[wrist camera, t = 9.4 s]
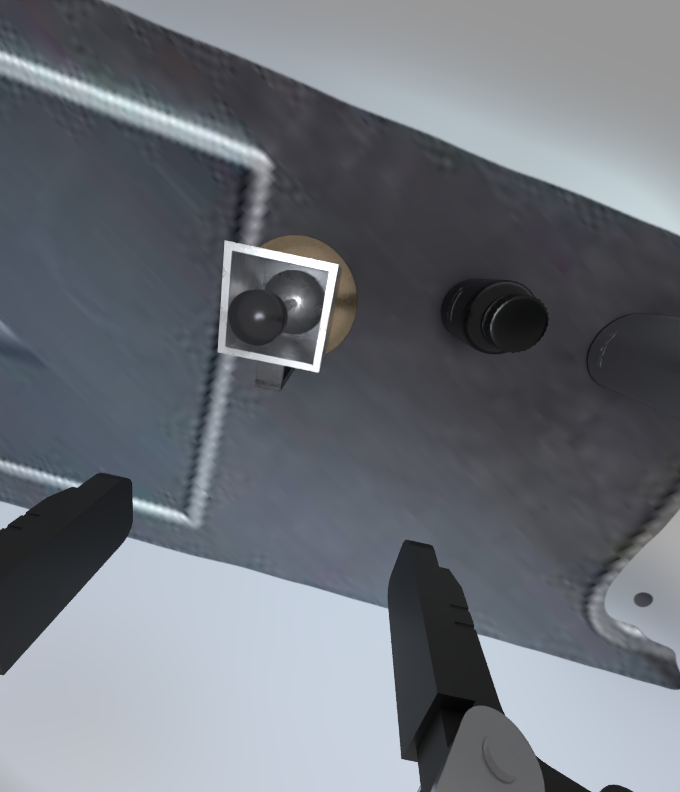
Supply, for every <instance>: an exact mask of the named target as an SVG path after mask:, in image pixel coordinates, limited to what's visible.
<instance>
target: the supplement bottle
mask: <svg viewBox="0 0 680 792" xmlns="http://www.w3.org/2000/svg"><path fill="white" fill-rule="evenodd" d="M442 320H443V323H444V325H445V327H446V329H447V330H448V331H449V332H450V333H451V334H452V335H454V336H455V337H457V338H458V339H460V340H461V341H463V342H465V343H466V344H468V345H469V346H471V347H473V348H474V349H476V350H478V351H480V352H483V353H486V354H502V353H506V352H512V353H515V352H521V351H525V350H527V349H529V348H531V347H532V346H534V345H535V344H536V343H537V342H538V341H540V339H541V337H543V335H544V332H545V331H546V327H547V326H548V320H549V318H548V312H547V308H546V307H545V306H544V304H543V303H541V301H540V300H539V299H537V298H536V297H534V295H533V293H532V292H531V291H530V290H529V289H528V288H527V287H526V286H524V285H522V284H521V283H518V282H515V281H509V280H491V279H471V280H467V281H464V282H462V283H460V284H458V285H457V286H455V287H454V288H453V289H452V290H451V291H450V292H449V293H448V295H447V296H446V298H445V300H444V303H443V306H442Z"/></svg>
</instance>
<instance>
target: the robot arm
mask: <svg viewBox="0 0 680 792" xmlns="http://www.w3.org/2000/svg"><path fill="white" fill-rule="evenodd" d="M588 369H589V372H590V375H591V376H592V378H593V379H594V380H595V381H596V382H597V383H599V384H600V385H602V386H604V387H606V388H609V389H611V390H613V391H616V392H618V393H620V394H623V395H625V396H627V397H629V398H632V399H634V400H636V401H639V402H641V403H643V404H646V405H648V406H650V407H653V408H655V409H657V410H660V411H662V412H664V413H667V414H669V415H671V416H674V417H676V418H678V419H680V318H678V317H670V316H661V315H653V314H632V315H627V316H624V317H622V318H619V319H617V320H616V321H614V322H612V323H611V324H609V325H608V326H607V327H606V328H604V329H603V330H602V331H601V332H600V334H599V335H598V336H597V337H596V339H595V340H594V342H593V344H592V345H591V348H590V351H589V354H588ZM132 522H133V502H132V482H131V480H130V479H128V478H124V477H120V476H115V475H111V474H106V473H98V474H96V475H94V476H93V477H91V478H90V479H89V480H87V481H86V482H85V483H83V484H82V485H81V486H79V487H78V488H76V487H71V488H68V489H66V490H64V491H61V492H59V493H57V494H54V495H52V496H50V497H47V498H46V499H44V500H43V501H41V502H40V503H39V504H37V505H36V506H34V507H33V508H31V509H30V510H29V511H27V512H26V514H25V515H24V516H23V515H22V516H20V517H19V518H17V519H16V520H14V521H13V522H11V523H10V524H8V527H7V528H6V529H4V528H3V529H1V530H0V675H4V674H5V673H6V672H7V671H8V670H9V669H10V668H11V667H12V666H13V664H14V663H15V662H16V661H17V660H18V659H19V658H20V656H21V655H22V654H23V653H24V652H25V651H26V650H27V649H28V648H29V647H30V646H31V644H32V643H33V642H34V641H35V640H36V639H37V638H38V637H39V636H40V634H41V633H42V632H43V631H44V630H45V629H46V628H47V627H48V626H49V624H50V623H51V622H52V621H53V620H54V619H55V618H56V617H57V615H58V614H59V613H60V612H61V611H62V610H63V609H64V608H65V607H66V606H67V604H68V603H69V602H70V601H71V600H72V599H73V598H74V597H75V596H76V594H77V593H78V592H79V591H80V590H81V589H82V588H83V586H84V585H85V584H86V583H87V582H88V581H89V580H90V579H91V578H92V577H93V576H94V574H95V573H96V572H97V571H98V570H99V569H100V568H101V567H102V566H103V564H104V563H105V562H106V561H107V560H108V559H109V558H110V557H111V555H112V554H113V553H114V552H115V551H116V550H117V549H118V548H119V547H120V545H121V544H122V543H123V542H124V541H125V539H126V538H127V536H128V534H129V532H130V529H131V527H132ZM388 609H389V620H390V632H391V643H392V654H393V666H394V678H395V690H396V701H397V712H398V724H399V735H400V746H401V758H402V759H405V760H410V761H415V762H418V766H419V775H420V783H421V786H420V787H419V789H418V791H417V792H591V791H589V790H587V789H586V788H584V787H582V786H581V785H579V784H578V783H576V782H574V781H573V780H571V779H570V778H568V777H566V776H565V775H563V774H561V773H560V772H558V771H557V770H555V769H553V768H551V767H550V766H549V765H547V764H546V763H544V762H543V761H541V760H540V759H539V758H538V757H537V756H536V755H535V753H534V752H533V750H532V748H531V746H530V744H529V743H528V741H527V740H526V738H525V737H524V735H523V734H522V733H521V731H520V730H519V729H518V728H517V727H516V725H514V723H512V721H510V720H509V719H508V718H507V717H506V716H505V714H504V712H503V710H502V707H501V705H500V702H499V699H498V696H497V693H496V690H495V687H494V684H493V681H492V678H491V675H490V672H489V669H488V666H487V663H486V660H485V657H484V654H483V651H482V648H481V645H480V642H479V639H478V636H477V632H476V630H474V623H473V620H472V617H471V614H470V612H468V605H467V602H466V599H465V596H464V593H463V590H462V587H461V586H460V584H459V583H458V582H457V580H456V579H455V577H454V576H453V574H452V573H451V571H450V570H449V569H446V568H441V567H439V565H438V561H437V558H436V554H435V551H434V548H433V546H432V545H429V544H424V543H419V542H415V541H410V540H405V541H404V542H403V545H402V547H401V550H400V552H399V555H398V558H397V560H396V563H395V566H394V568H393V571H392V574H391V577H390V580H389V586H388ZM600 792H633V791H631V790H629V789H627V788H625V787H622V786H619V785H608V786H606V787H605V788H603V789H602V790H601V791H600Z"/></svg>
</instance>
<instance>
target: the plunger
mask: <svg viewBox="0 0 680 792" xmlns="http://www.w3.org/2000/svg"><path fill="white" fill-rule="evenodd" d="M323 305H324V294H323V291H322V289H321V287H320V285H319V284H318V282H317V281H316V280H315V279H314V278H313V277H312V276H310V275H309V274H307V273H305V272H302V271H298V270H285V271H282V272H280V273H277V274H276V275H274V276H273V277H272V278H271V279H270V280H269V281H268V283H267V284H266V286H265V289H257V290H249V291H245V292H242V293H240V294H239V295H237V296H236V297H235V298H234V299H233V301H232V302H231V305H230V307H229V312H228V318H229V324H230V326H231V329H232V330H233V332H234V333H235V335H236V336H237V337H238V338H239V339H241V340H242V341H243V342H245V343H247V344H250V345H256V346H260V345H265V344H268V343H270V342H271V341H273V340H274V339H275V338H277V337H278V336H279V335H281V333H282V332H284V333H287V334H292V335H298V334H303V333H306V332H308V331H310V330H312V329H313V328H314V327H315V326H316V325H317V324H318V323H319V321H320V320H321V317H322V311H323Z"/></svg>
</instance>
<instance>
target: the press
mask: <svg viewBox="0 0 680 792" xmlns="http://www.w3.org/2000/svg"><path fill="white" fill-rule="evenodd" d="M285 270H298V271H302V272H305V273H307V274H309V275H310V276H312V277H313V278H314V279H315V280H316V281H317V282H318V284H319V285H320V287H321V289H322V291H323V294H324V305H323V311H322V317H321V320H320V321H319V323H318V324H317V325H316V326H315V327H314V328H313V329H312V330H310V331H308V332H306V333H303V334H298V335H292V334H287V333H284V332H282V333H281V335H279V336H278V337H277V338H275V339H274V340H273V341H271V342H270V343H268V344H265V345H260V346H256V345H250V344H247V343H245V342H243V341H242V340H241V339H239V338H238V337H237V336H236V335H235V333H234V332H233V330H232V329H231V326H230V324H229V318H228V312H229V307H230V305H231V302H232V301H233V299H234V298H235V297H236V296H237V295H239V294H240V293H242V292H245V291H249V290H257V289H265V286H266V284H267V283H268V281H269V280H270V279H271V278H272V277H273V276H274V275H276V274H277V273H280V272H282V271H285ZM356 309H357V292H356V287H355V282H354V279H353V277H352V274H351V272H350V270H349V268H348V266H347V265H346V263H345V262H344V260H343V259H342V258H341V257H340V256H339V255H338V253H337V252H335V251H334V250H333V249H332V248H331V247H329V246H328V245H326V244H325V243H323V242H321V241H319V240H316V239H314V238H311V237H307V236H300V235H288V236H282V237H279V238H275V239H273V240H271V241H269V242H267V243H265V244H264V245H262V246H261V247H259V248H258V247H253V246H248V245H243V244H239V243H234V242H229V241H225V246H224V262H223V278H222V293H221V309H220V325H219V341H218V352H219V353H224V354H229V355H234V356H239V357H244V358H249V359H254V360H258V364H257V373H256V382H255V387H259V388H264V389H269V390H274V391H279V392H280V391H281V390H282V388H283V386H284V385H285V383H286V382H287V380H288V379H289V377H290V376H291V374H292V373H293V371H294V369H295V368H299V369H304V370H309V371H314V372H319V370H320V368H321V365H322V362H323V359H324V357H325V354H327V353H329V352H330V351H332V350H333V349H334V348H336V347H337V346H338V345H339V344H340V343H341V342H342V341H343V340H344V338H345V337H346V336H347V334H348V332H349V331H350V329H351V327H352V324H353V322H354V319H355V315H356Z"/></svg>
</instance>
